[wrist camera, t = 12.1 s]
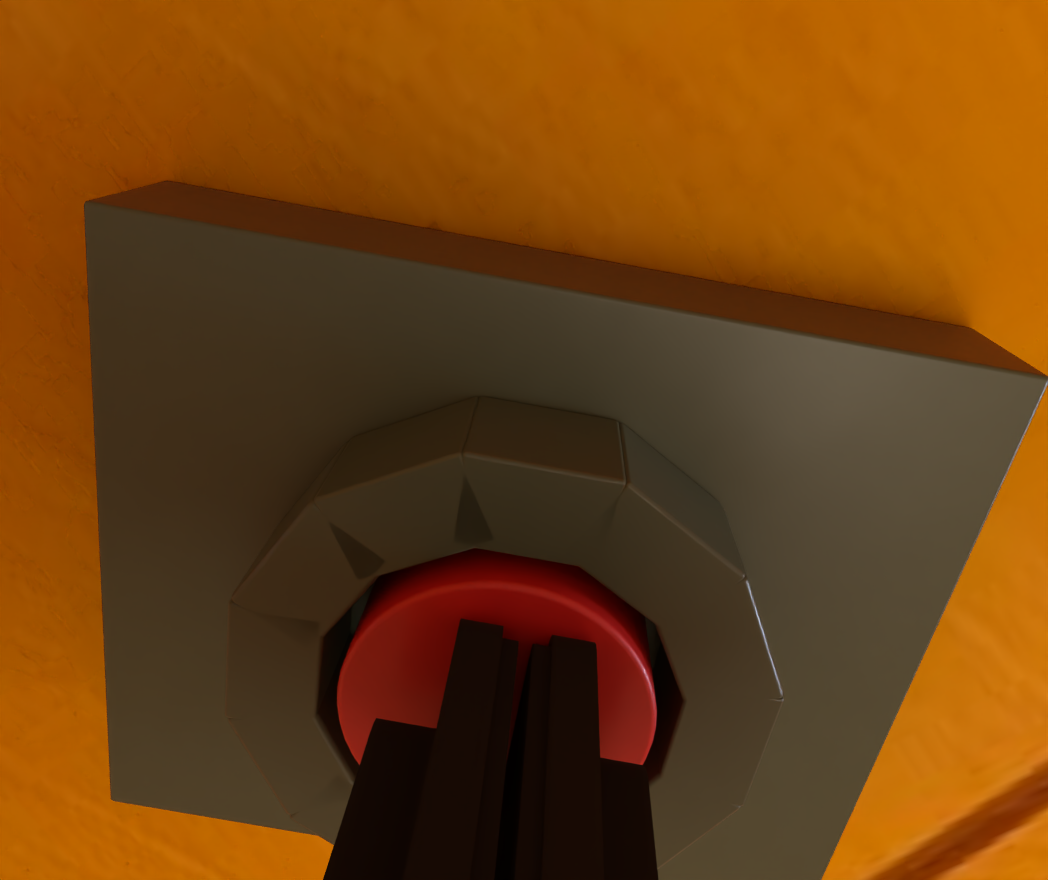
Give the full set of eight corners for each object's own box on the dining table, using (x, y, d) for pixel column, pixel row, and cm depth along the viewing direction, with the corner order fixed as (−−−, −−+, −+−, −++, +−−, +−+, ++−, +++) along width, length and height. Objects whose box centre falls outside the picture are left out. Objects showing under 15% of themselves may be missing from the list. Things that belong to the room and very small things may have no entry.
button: (355, 716, 13) (323, 809, 11) (381, 486, 11) (348, 556, 9) (613, 760, 13) (618, 859, 11) (676, 538, 11) (693, 616, 9)
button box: (167, 710, 16) (47, 898, 12) (164, 179, 12) (-16, 225, 8) (775, 815, 16) (834, 1030, 13) (974, 327, 12) (1146, 435, 9)
